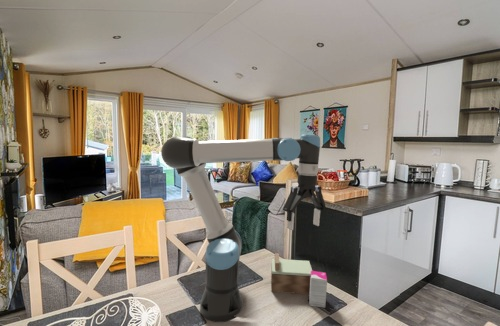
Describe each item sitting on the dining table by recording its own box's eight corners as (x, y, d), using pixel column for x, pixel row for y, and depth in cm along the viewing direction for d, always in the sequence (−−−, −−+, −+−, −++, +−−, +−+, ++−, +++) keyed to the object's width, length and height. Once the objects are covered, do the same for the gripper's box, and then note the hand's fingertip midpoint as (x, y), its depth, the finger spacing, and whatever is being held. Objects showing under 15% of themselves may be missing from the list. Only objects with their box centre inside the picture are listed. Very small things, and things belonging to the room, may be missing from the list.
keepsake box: (271, 293, 103) (271, 274, 102) (271, 279, 114) (271, 261, 113) (312, 296, 101) (313, 277, 101) (308, 281, 112) (308, 263, 112)
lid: (272, 273, 102) (272, 264, 102) (271, 260, 113) (272, 251, 112) (313, 276, 101) (313, 266, 100) (308, 263, 112) (309, 254, 111)
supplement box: (325, 310, 94) (327, 280, 92) (308, 307, 95) (310, 277, 94) (324, 300, 99) (326, 272, 98) (308, 298, 100) (310, 270, 99)
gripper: (288, 176, 92) (284, 234, 94) (337, 175, 105) (332, 226, 107) (276, 173, 99) (272, 227, 101) (323, 172, 111) (319, 220, 113)
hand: (303, 226), depth 104 cm, fingers open, 13 cm apart
